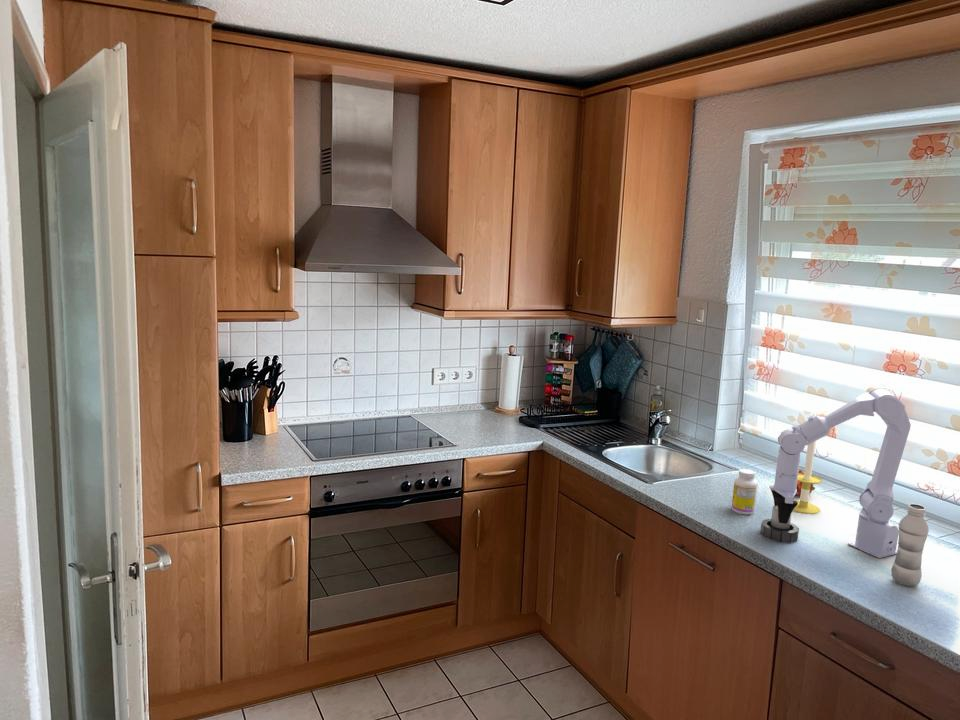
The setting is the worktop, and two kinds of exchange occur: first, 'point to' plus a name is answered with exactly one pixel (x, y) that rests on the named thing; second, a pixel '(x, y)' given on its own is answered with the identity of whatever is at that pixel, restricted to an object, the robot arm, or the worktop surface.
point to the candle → (807, 484)
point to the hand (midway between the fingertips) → (781, 519)
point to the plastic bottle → (910, 547)
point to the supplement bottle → (744, 492)
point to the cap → (776, 522)
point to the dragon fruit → (799, 486)
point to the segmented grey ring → (779, 532)
